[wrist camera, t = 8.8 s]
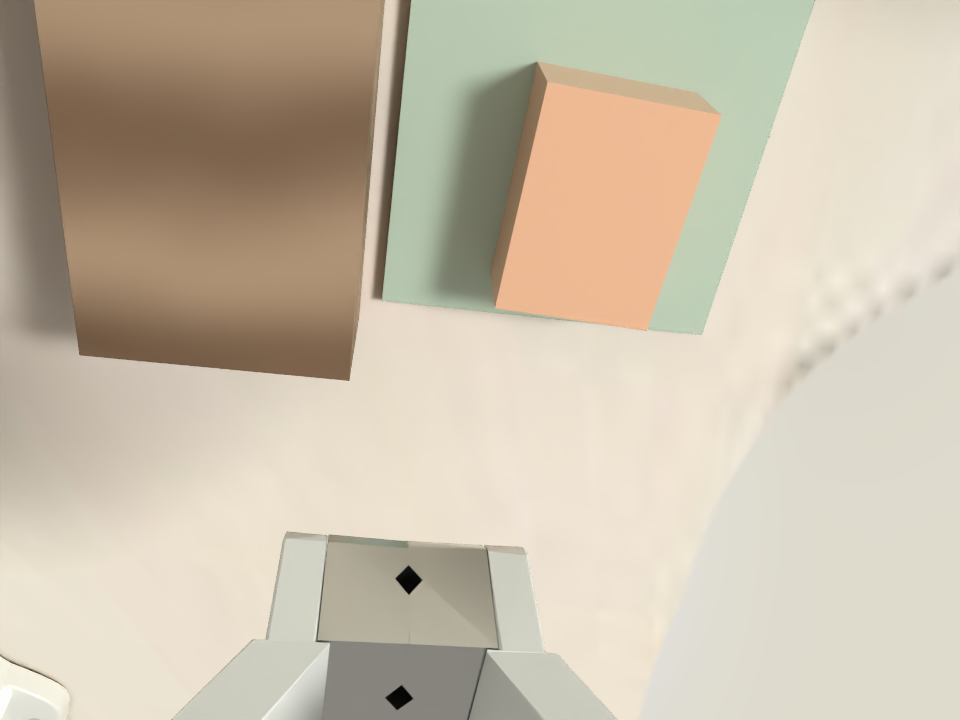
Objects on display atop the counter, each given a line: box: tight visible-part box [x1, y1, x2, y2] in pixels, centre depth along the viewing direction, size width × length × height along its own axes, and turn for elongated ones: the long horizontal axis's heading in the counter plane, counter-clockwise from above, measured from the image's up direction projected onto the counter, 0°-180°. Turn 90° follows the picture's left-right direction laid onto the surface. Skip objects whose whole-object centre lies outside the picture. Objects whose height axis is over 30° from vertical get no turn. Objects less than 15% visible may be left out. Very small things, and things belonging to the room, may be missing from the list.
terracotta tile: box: [490, 61, 722, 331], centre depth 25 cm, size 7×5×2 cm
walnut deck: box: [34, 0, 385, 381], centre depth 23 cm, size 14×8×4 cm, turn 171°
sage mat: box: [382, 0, 815, 335], centre depth 25 cm, size 14×12×1 cm
